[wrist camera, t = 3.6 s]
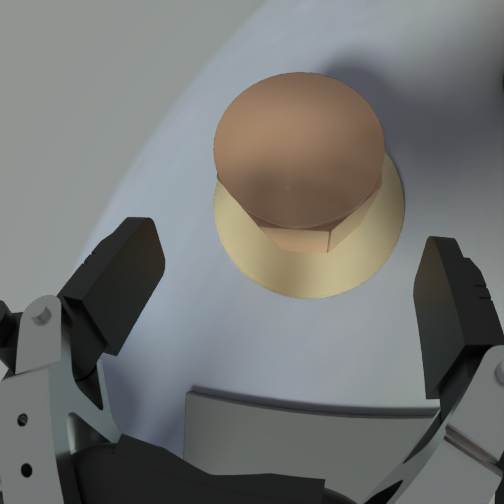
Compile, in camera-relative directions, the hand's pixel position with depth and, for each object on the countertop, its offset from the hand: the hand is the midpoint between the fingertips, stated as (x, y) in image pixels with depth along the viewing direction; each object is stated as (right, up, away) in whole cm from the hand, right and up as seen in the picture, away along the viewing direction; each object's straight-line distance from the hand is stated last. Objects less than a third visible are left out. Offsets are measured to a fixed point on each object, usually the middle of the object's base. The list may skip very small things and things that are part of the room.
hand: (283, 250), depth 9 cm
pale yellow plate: (+2, +3, +9) cm, 10 cm away
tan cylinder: (+2, +3, +9) cm, 9 cm away
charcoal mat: (+2, -17, +6) cm, 18 cm away
